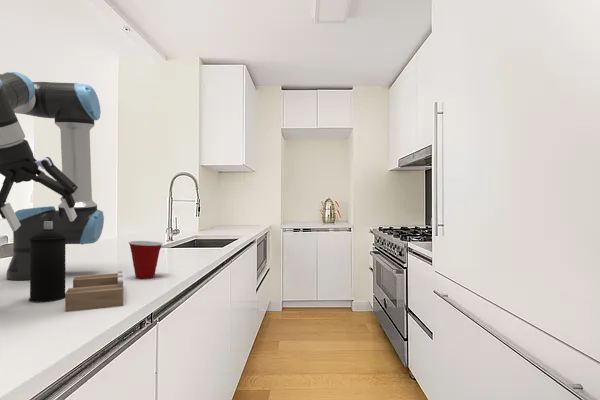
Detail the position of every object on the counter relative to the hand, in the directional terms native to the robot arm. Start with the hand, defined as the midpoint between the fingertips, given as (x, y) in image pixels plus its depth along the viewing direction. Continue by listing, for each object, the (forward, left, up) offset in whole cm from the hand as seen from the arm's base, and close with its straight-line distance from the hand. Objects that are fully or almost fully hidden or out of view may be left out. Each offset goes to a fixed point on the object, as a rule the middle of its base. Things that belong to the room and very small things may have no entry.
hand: (45, 223), depth 98 cm
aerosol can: (-4, 0, -20) cm, 20 cm away
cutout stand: (0, +12, -20) cm, 23 cm away
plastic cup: (-24, +25, -20) cm, 40 cm away
